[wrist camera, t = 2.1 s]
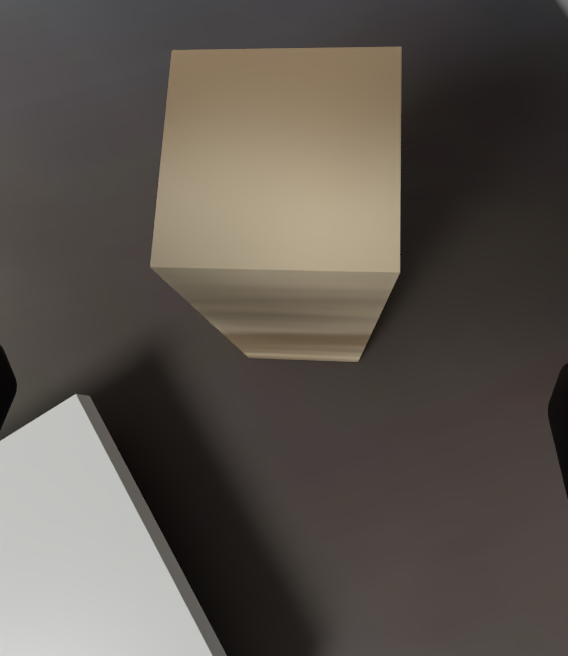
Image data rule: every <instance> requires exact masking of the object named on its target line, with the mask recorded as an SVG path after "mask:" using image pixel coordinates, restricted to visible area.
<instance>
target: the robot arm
mask: <svg viewBox="0 0 568 656" xmlns="http://www.w3.org/2000/svg"><path fill="white" fill-rule="evenodd" d="M16 390H17V383H16V378H15V376H14V373H13V371H12V368H11V366H10V363H9V361H8V359H7V356H6V354H5V351H4V349H3V347H2V346H1V345H0V430H1V428H2V425H3V423H4V421H5V418H6V416H7V413H8V411H9V409H10V406H11V404H12V402H13V399H14V397H15V394H16ZM548 418H549V422H550V427H551V431H552V435H553V439H554V443H555V448H556V452H557V456H558V460H559V465H560V469H561V473H562V477H563V481H564V486H565V490H566V494H567V498H568V364H566V365H564V366H563V367H562V369H561V371H560V373H559V376H558V379H557V382H556V384H555V387H554V390H553V393H552V396H551V398H550V401H549V405H548Z"/></svg>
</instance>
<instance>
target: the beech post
mask: <svg viewBox="0 0 568 656" xmlns="http://www.w3.org/2000/svg"><path fill="white" fill-rule="evenodd" d="M400 192H401V47H346V48H283V49H219V50H172V53H171V63H170V73H169V84H168V94H167V104H166V114H165V124H164V134H163V144H162V154H161V164H160V174H159V184H158V194H157V204H156V214H155V224H154V234H153V244H152V254H151V264H150V267H151V268H152V269H153V270H154V271H155V272H156V273H157V274H158V275H159V276H160V277H161V278H163V279H164V280H165V281H166V282H167V283H168V284H169V285H170V286H171V287H172V288H173V289H175V290H176V291H177V292H178V293H179V294H180V295H181V296H182V297H183V298H184V299H185V300H187V301H188V302H189V303H190V304H191V305H192V306H193V307H194V308H195V309H196V310H197V311H199V312H200V313H201V314H202V315H203V316H204V317H205V318H206V319H207V320H208V321H209V322H210V323H212V324H213V325H214V326H215V327H216V328H217V329H218V330H219V331H220V332H221V333H222V334H224V335H225V336H226V337H227V338H228V339H229V340H230V341H231V342H232V343H233V344H234V345H236V346H237V347H238V348H239V349H240V350H241V351H242V352H243V353H244V354H245V355H246V356H248V357H249V358H266V359H293V360H320V361H347V362H358V361H359V359H360V357H361V355H362V353H363V350H364V348H365V346H366V344H367V342H368V340H369V338H370V336H371V333H372V331H373V329H374V327H375V325H376V323H377V321H378V318H379V316H380V314H381V312H382V310H383V308H384V306H385V304H386V301H387V299H388V297H389V295H390V293H391V291H392V289H393V286H394V284H395V282H396V280H397V278H398V276H399V274H400Z"/></svg>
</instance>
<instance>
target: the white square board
mask: <svg viewBox="0 0 568 656" xmlns="http://www.w3.org/2000/svg"><path fill="white" fill-rule="evenodd" d="M0 656H227V655H226V653H225V651H224V649H223V647H222V646H221V644H220V642H219V640H218V638H217V636H216V634H215V632H214V630H213V629H212V627H211V625H210V623H209V621H208V619H207V617H206V615H205V613H204V612H203V610H202V608H201V606H200V604H199V602H198V600H197V598H196V596H195V594H194V593H193V591H192V589H191V587H190V585H189V583H188V581H187V579H186V577H185V576H184V574H183V572H182V570H181V568H180V566H179V564H178V562H177V560H176V558H175V557H174V555H173V553H172V551H171V549H170V547H169V545H168V543H167V541H166V540H165V538H164V536H163V534H162V532H161V530H160V528H159V526H158V524H157V523H156V521H155V519H154V517H153V515H152V513H151V511H150V509H149V507H148V505H147V504H146V502H145V500H144V498H143V496H142V494H141V492H140V490H139V488H138V487H137V485H136V483H135V481H134V479H133V477H132V475H131V473H130V471H129V470H128V468H127V466H126V464H125V462H124V460H123V458H122V456H121V454H120V452H119V451H118V449H117V447H116V445H115V443H114V441H113V439H112V437H111V435H110V434H109V432H108V430H107V428H106V426H105V424H104V422H103V420H102V418H101V417H100V415H99V413H98V411H97V409H96V407H95V405H94V403H93V401H92V399H91V398H90V396H87V395H80V394H75V395H73V396H72V397H70V398H69V399H67V400H65V401H64V402H62V403H60V404H59V405H57V406H56V407H54V408H52V409H51V410H49V411H48V412H46V413H44V414H43V415H41V416H40V417H38V418H36V419H35V420H33V421H32V422H30V423H28V424H27V425H25V426H24V427H22V428H20V429H19V430H17V431H16V432H14V433H12V434H11V435H9V436H7V437H6V438H4V439H3V440H1V441H0Z"/></svg>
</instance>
